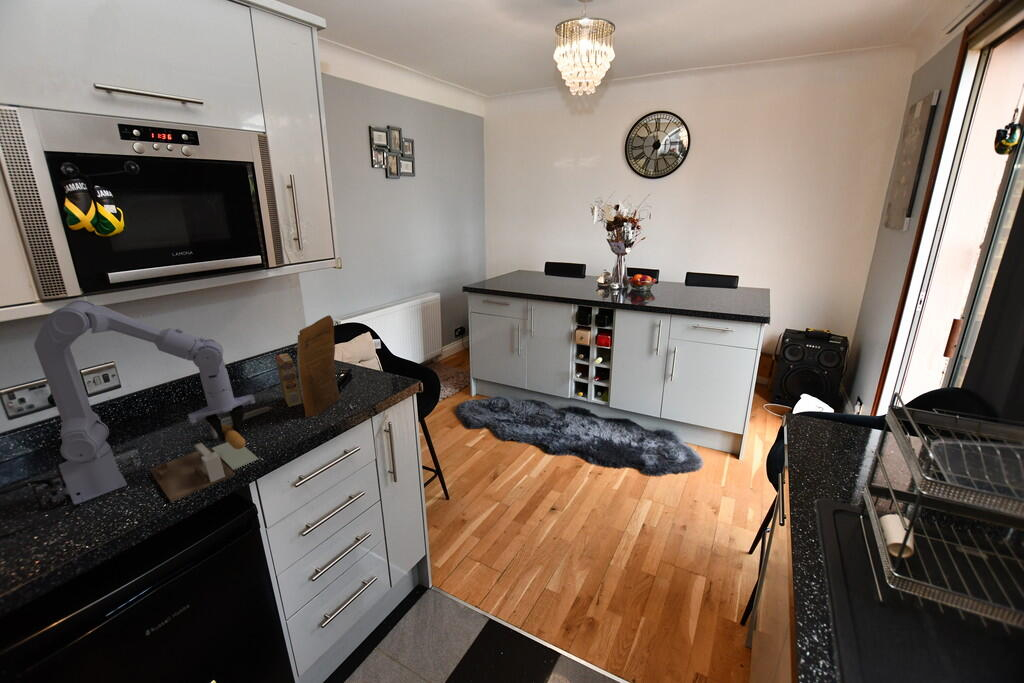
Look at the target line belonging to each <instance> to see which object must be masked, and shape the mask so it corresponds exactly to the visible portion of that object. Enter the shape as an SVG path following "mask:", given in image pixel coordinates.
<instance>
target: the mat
mask: <svg viewBox="0 0 1024 683" xmlns="http://www.w3.org/2000/svg"><path fill="white" fill-rule="evenodd" d="M211 450H212V451H213V452H216V453H217V454H218V455H219V456H220V459H221V460H222V461H223V462H224V463H225V464H226V465H227V466H228V467H229V468H230V469H231V470H232V471H233V470H234V471H236V470H238V468H239V469H241V468H243V467H242V466H244V467H246V466H248V465H250V464H249V463H251V464H253V463H255V462H254V461H256V460H258V461H259V458H258V456H256V454H254V453H253V452H252V451H251V450H249V449H248V448H247V447H246V445H245V446H244V447H243V448H241V449H235V448H233V447H232V446H231V445H230V444H229V443H228V442H227V441H225V443H222V444H218V445H217V446H213V447H212V448H211ZM252 462H253V463H252ZM256 462H257V461H256ZM247 464H248V465H247ZM245 465H246V466H245ZM240 467H241V468H240ZM235 469H236V470H235Z"/></svg>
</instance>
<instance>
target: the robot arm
mask: <svg viewBox="0 0 1024 683" xmlns="http://www.w3.org/2000/svg"><path fill="white" fill-rule="evenodd" d="M41 325H42V326H41V327H40V330H39V332H38V334H37V337H36V338H35V341H34V344H33V347H34V350H35V353H36V355H37V358H38V361H39V363H40V366H41V369H42V372H43V374H44V376H45V380H46V383H47V385H48V387H49V390H50V392H51V396H52V398H53V400H54V403H55V406H56V408H57V411H58V415H59V416H60V419H61V429H60V438H61V440H62V443H61V445H60V454H61V455H62V457H63V458H64V459H66V461H65V462H63V463H59V464H58V467H59V470H60V472H61V473H60V474H61V475H62V476H61V477H62V478H63V481H64V484H65V491H66V494H67V495H68V496H70V498H71V501H72V504H73V505H75V506H76V505H78V504H82V503H84V502H87V501H90V500H92V499H94V498H97V497H100V496H102V495H105V494H108V493H110V492H113V491H115V490H119V489H121V488H123V487H126V486H128V483H127V481H126V479H125V477H124V476H123V474H122V472H120V471H119V467H118V465H117V461H116V459H115V456H114V455H115V454H114V453H113V451H112V448H111V445H110V444H109V443H108V442H107V439H108V437H109V434H110V429H109V427H108V425H106V424H105V423H104V422H103V421H101V418H100V417H99V414H98V413H96V412H95V411H94V410H93V409H92V407H91V404H90V401H89V398H88V395H87V392H86V390H85V386H84V384H83V381H82V377H81V374H80V372H79V368H78V367H77V364H76V360H75V358H74V356H73V352H72V349H71V346H72V344H73V343H74V342H75V341H77V339H78V338H79V337H80V336H82V335H84V334H85V333H86V332H87V331H88V330H90V329H91V334H98V333H103V332H110V331H111V332H117V333H120V334H122V335H127V336H128V337H133V338H135V339H140V340H143V341H146V342H149V343H153V344H155V346H156V347H157V348H156V349H157V350H158V351H160V352H163V353H166V354H168V355H171V356H175V357H177V358H180V359H182V360H183V359H184V360H187V361H191V362H193V364H194V366H196V367H197V368H198V371H199V376H200V381H201V384H202V388H203V392H204V396H205V400H206V403H207V406H206V407H203V408H200V409H198V410H196V411H193V412H191V413H188V414H187V416H188V420H189V423H191V424H195V423H197V422H198V421H201V420H205V421H206V422H208V424H209V425H210V427H211V426H212V427H213V428H214V430H215V431H216V433H217V434H218V439H219V440H220V442H222V443H223V442H227V441H226V440H225V436H224V433H223V430H222V425H221V419H222V418H220V419H219V418H218V417H219V416H218V415H220V414H223V413H228V412H229V415H230V416H231V419H232V422H233V426H232V428H233V429H234V430H235V431H236V432H237V433H238V434H239V435H241V436H242V434H241V430H242V422H243V420H242V419H243V416H244V414H245V413H246V410H245V408H244V407H243V406H246V405H247V406H248V405H250V404H252V405H253V404H255V403H256V399H255V396H254V395H253V394H247V395H243V396H239V397H234V393H233V388H232V385H231V381H230V376H229V374H228V369H227V368H226V362H225V361H224V358H223V354H224V348H223V346H222V344H220V343H219V342H217V341H216V340H214V339H211V338H210V339H206V337H202V336H201V337H200V338H199V337H197V336H194V335H192V334H189V333H186V332H184V329H183V328H180V327H177V328H176V329H175V328H173V327H170V328H166V329H160V328H157V327H154V326H153V325H149V324H148V323H145V322H143V321H140V320H138V319H135V318H133V317H130V316H128V315H125V314H123V313H120V312H118V311H116V310H113V309H111V308H109V307H106V306H104V305H101V304H94V303H93V302H90V301H88V300H80V299H79V300H73V301H71V302H69V303H67V304H66V305H65V306H63V307H60V308H57V309H56V310H53V311H52V312H51V313H50V314H49V315H48V316H46V317H45V318H44V319H42V324H41ZM230 416H229V417H230Z"/></svg>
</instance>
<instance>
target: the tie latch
mask: <svg viewBox="0 0 1024 683" xmlns="http://www.w3.org/2000/svg"><path fill="white" fill-rule="evenodd" d="M194 447H195V450H196V452H197V451H198V452H199V453H200V454H201V455H202V456H203V457H201V459H202V462H203V466H204V469H205V473H206V475H207V479H208V480H209V481H210V482H214V481H216V480H218V479H221V478H223V477H225V474H224V470H223V467H222V463H221V460H222V459H221V458H220V456H219V455H218V454H217V453H216V452H214V451H213V453H211V452H210V451H209V450H208V449H207V448H208V447H206V445H204V444H203V443H202V442H199V443H196V444H194Z"/></svg>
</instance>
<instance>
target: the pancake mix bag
mask: <svg viewBox="0 0 1024 683" xmlns="http://www.w3.org/2000/svg"><path fill="white" fill-rule="evenodd" d="M333 320H334V319H333V318H332V316H331V315H326V316H324V317H322V318H320V319H319V320H316V321H315V322H314V323H312V324H310V325H308V326H306V327H304V328H302V329H301V330H299V331H298V333H299V334H297V351H296V352H297V357H296V358H297V370H298V377H299V378H298V379H299V385H300V389H301V397H302V398H301V399H302V401H303V402H302V403H303V407H304V411H305V412H304V414H305V418H309V417H315V416H318V415H320V414H321V415H322V413H323V412H325V411H326V410H328V409H329V408H330V407H332V406H333V405H335V404H336V403H338V402H339V401H341V394H340V392H339V385H338V382H337V373H336V367H335V365H336V364H335V356H336V355H335V354H336V345H335V344H336V343H335V325H334V321H333Z"/></svg>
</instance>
